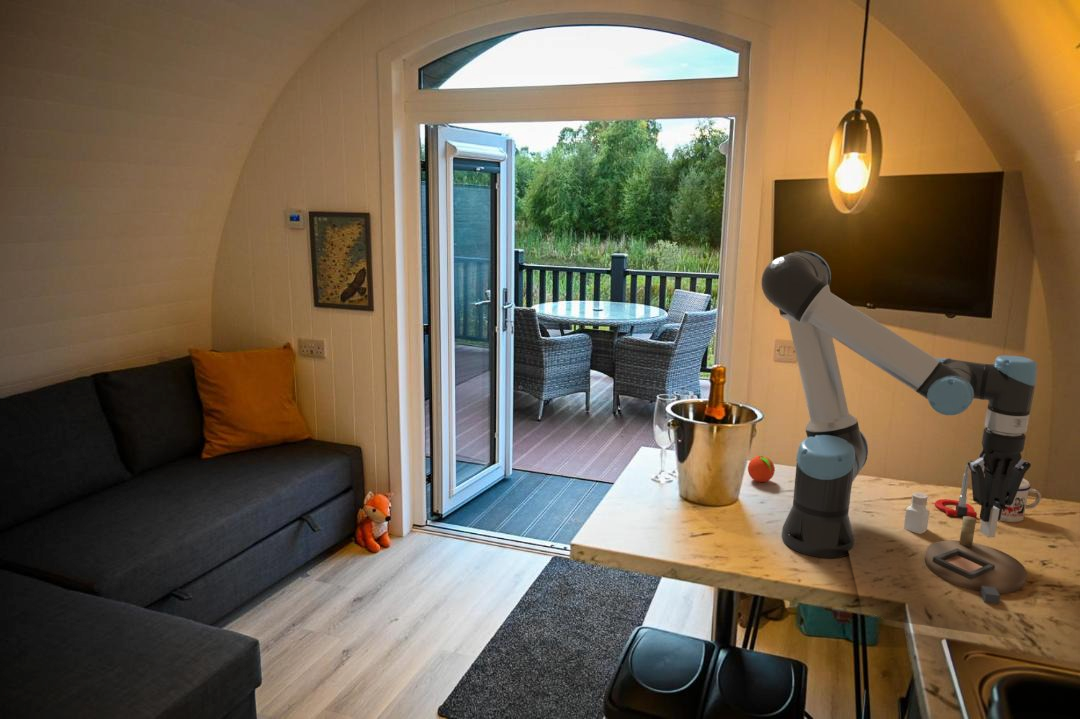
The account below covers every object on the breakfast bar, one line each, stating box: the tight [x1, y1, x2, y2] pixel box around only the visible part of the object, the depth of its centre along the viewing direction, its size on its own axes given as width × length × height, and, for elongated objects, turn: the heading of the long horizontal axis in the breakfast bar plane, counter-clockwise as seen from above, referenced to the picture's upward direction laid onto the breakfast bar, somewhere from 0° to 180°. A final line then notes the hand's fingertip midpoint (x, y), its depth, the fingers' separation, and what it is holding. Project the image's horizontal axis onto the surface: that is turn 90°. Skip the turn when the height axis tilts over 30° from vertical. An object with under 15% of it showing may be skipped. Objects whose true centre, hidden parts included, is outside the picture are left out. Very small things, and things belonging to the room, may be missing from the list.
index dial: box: [924, 516, 1027, 594], centre depth 155 cm, size 18×18×8 cm
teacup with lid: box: [999, 477, 1042, 523], centre depth 182 cm, size 12×9×12 cm
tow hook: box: [934, 464, 978, 519], centre depth 185 cm, size 8×13×9 cm
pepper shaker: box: [903, 492, 930, 535], centre depth 173 cm, size 4×4×10 cm
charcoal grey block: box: [979, 586, 1001, 605], centre depth 145 cm, size 2×3×3 cm
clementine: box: [747, 455, 776, 483], centre depth 202 cm, size 8×7×7 cm
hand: (987, 534), depth 162 cm, fingers closed
